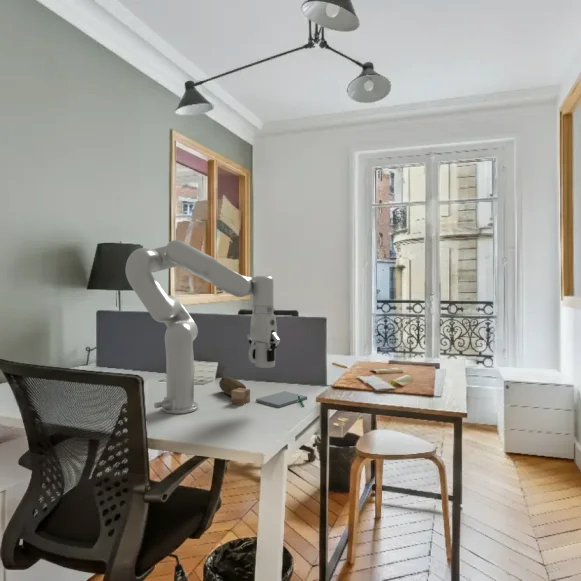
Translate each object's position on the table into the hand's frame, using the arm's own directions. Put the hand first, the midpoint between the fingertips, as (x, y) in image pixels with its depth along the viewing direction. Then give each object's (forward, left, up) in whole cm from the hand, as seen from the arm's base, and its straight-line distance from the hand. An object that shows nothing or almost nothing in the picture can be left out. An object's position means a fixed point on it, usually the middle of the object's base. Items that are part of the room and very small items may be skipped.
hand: (263, 359), depth 164 cm
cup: (0, +1, -3) cm, 3 cm away
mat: (+13, +3, -18) cm, 22 cm away
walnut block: (0, +12, -18) cm, 21 cm away
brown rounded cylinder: (+5, +23, -18) cm, 30 cm away
